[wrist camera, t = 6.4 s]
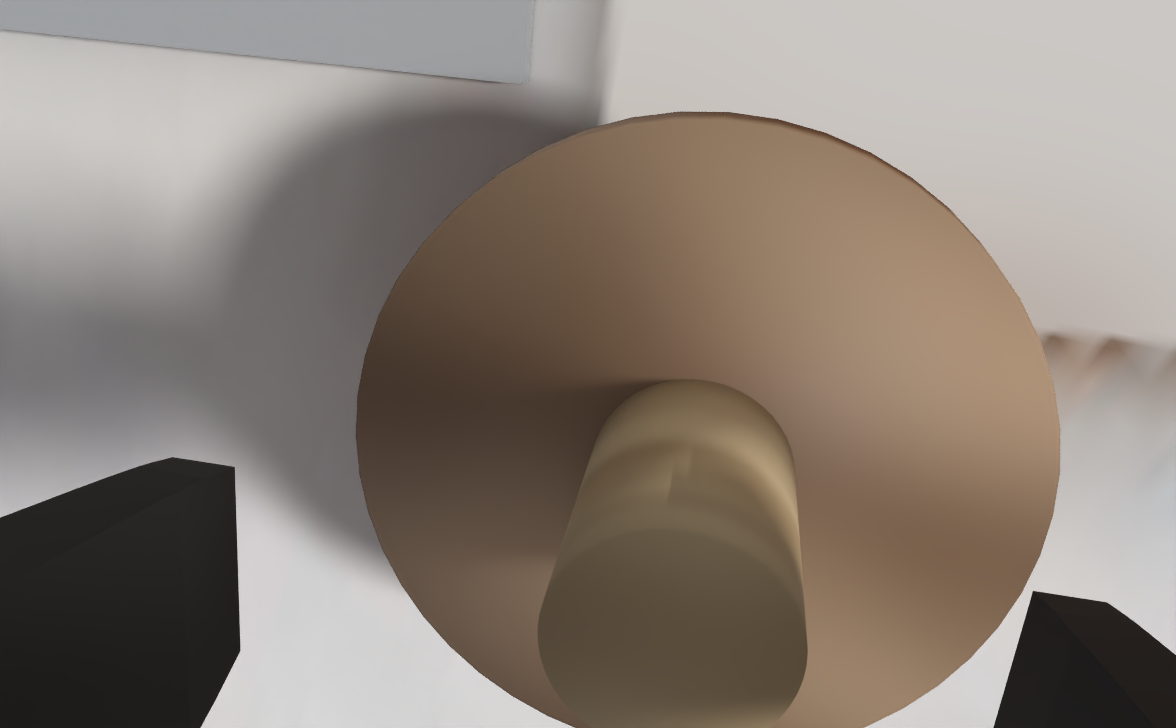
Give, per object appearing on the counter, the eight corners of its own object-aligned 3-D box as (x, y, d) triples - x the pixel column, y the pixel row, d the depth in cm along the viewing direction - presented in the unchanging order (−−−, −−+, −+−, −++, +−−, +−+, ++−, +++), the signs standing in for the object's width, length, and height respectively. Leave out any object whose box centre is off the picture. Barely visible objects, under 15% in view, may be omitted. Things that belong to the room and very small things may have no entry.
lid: (974, 760, 17) (1051, 1050, 12) (379, 676, 18) (255, 916, 14) (1118, 142, 13) (1299, 238, 9) (368, 84, 14) (195, 145, 10)
